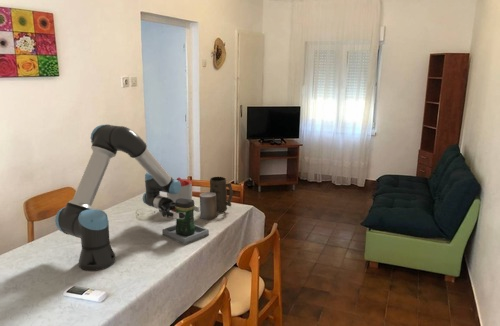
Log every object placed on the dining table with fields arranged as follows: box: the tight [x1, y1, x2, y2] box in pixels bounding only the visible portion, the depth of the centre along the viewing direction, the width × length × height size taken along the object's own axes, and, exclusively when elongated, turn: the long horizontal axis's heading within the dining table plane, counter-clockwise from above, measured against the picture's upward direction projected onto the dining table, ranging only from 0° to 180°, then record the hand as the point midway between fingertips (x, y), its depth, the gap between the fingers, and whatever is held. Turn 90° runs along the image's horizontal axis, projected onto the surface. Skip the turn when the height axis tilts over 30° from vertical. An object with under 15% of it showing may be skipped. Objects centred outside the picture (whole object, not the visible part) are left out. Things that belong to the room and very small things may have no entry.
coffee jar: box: [175, 198, 196, 236], centre depth 205 cm, size 10×8×19 cm
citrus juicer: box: [166, 177, 193, 212], centre depth 245 cm, size 16×17×20 cm
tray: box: [161, 224, 210, 246], centre depth 207 cm, size 16×18×3 cm
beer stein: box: [209, 176, 234, 213], centre depth 244 cm, size 15×11×20 cm
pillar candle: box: [199, 191, 218, 221], centre depth 232 cm, size 10×10×15 cm
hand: (189, 212), depth 202 cm, fingers open, 13 cm apart
